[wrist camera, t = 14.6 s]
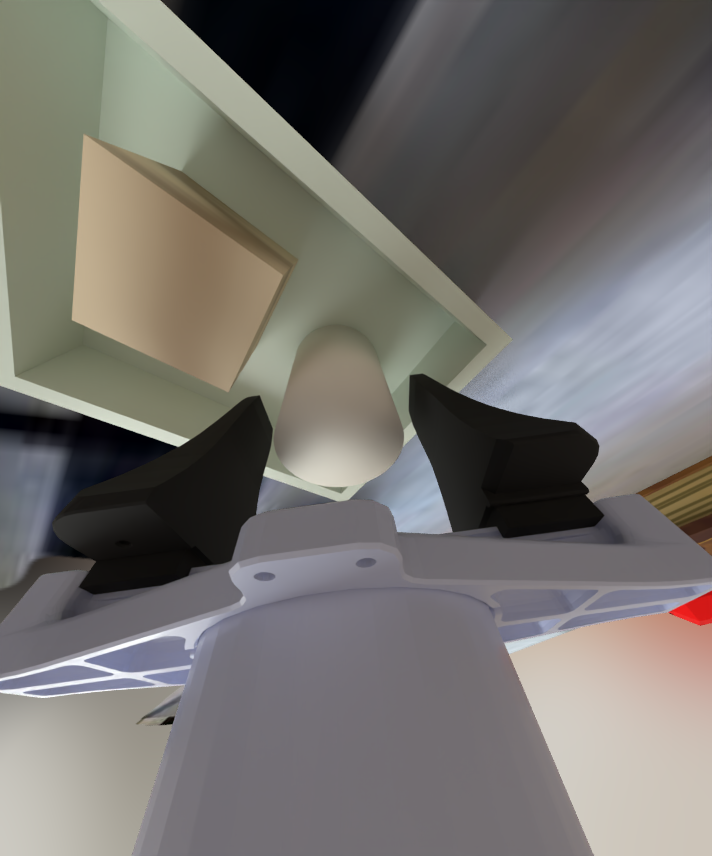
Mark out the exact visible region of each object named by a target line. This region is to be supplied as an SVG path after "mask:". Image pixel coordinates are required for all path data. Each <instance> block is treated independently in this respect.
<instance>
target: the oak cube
mask: <svg viewBox="0 0 712 856" xmlns="http://www.w3.org/2000/svg"><path fill="white" fill-rule="evenodd" d="M297 262H298V259H297V258H296V257H294V256H293V255H292V254H290V253H289V252H288V251H286V250H285V249H284V248H282V247H281V246H280V245H278V244H277V243H276V242H274V241H273V240H272V239H270V238H269V237H268V236H266V235H265V234H264V233H263V232H261V231H260V230H259V229H257V228H256V227H255V226H253V225H252V224H251V223H249V222H248V221H247V220H245V219H244V218H243V217H241V216H240V215H239V214H237V213H236V212H235V211H233V210H232V209H231V208H229V207H228V206H227V205H226V204H224V203H223V202H222V201H220V200H219V199H218V198H216V197H215V196H214V195H212V194H211V193H210V192H208V191H207V190H206V189H204V188H203V187H202V186H200V185H199V184H198V183H196V182H195V181H194V180H192V179H191V178H190V177H189V176H187V175H186V174H185V173H183V172H182V171H180V170H177V169H175V168H172V167H169V166H167V165H164V164H162V163H159V162H156V161H154V160H151V159H149V158H146V157H143V156H141V155H138V154H135V153H133V152H130V151H128V150H125V149H122V148H120V147H117V146H115V145H112V144H109V143H107V142H104V141H102V140H99V139H96V138H94V137H91V136H89V135H86V134H84V135H83V151H82V167H81V182H80V198H79V213H78V229H77V245H76V260H75V276H74V291H73V307H72V320H73V321H75V322H77V323H79V324H81V325H84V326H86V327H88V328H90V329H92V330H94V331H97V332H99V333H101V334H103V335H105V336H107V337H109V338H112V339H114V340H116V341H118V342H120V343H122V344H125V345H127V346H129V347H131V348H133V349H135V350H138V351H140V352H142V353H144V354H146V355H148V356H151V357H153V358H155V359H157V360H159V361H161V362H164V363H166V364H168V365H170V366H172V367H174V368H176V369H179V370H181V371H183V372H185V373H187V374H189V375H192V376H194V377H196V378H198V379H200V380H202V381H205V382H207V383H209V384H211V385H213V386H215V387H218V388H220V389H222V390H224V391H226V392H228V393H229V391H230V389H231V388H232V386H233V384H234V383H235V381H236V380H237V378H238V376H239V375H240V373H241V371H242V370H243V368H244V366H245V365H246V363H247V362H248V360H249V358H250V357H251V355H252V353H253V352H254V350H255V349H256V347H257V345H258V343H259V341H260V338H261V336H262V334H263V332H264V330H265V328H266V326H267V324H268V322H269V320H270V318H271V316H272V314H273V311H274V309H275V307H276V305H277V303H278V301H279V299H280V297H281V295H282V293H283V291H284V289H285V287H286V284H287V282H288V280H289V278H290V276H291V274H292V272H293V270H294V268H295V266H296V264H297Z"/></svg>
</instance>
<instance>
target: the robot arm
mask: <svg viewBox="0 0 712 856" xmlns="http://www.w3.org/2000/svg"><path fill="white" fill-rule="evenodd" d="M409 414H410V417H411V421H412V424H413V427H414V429H415V431H416V433H417V435H418V437H419V440H420V442H421V444H422V446H423V448H424V450H425V452H426V454H427V456H428V458H429V460H430V463H431V465H432V467H433V470H434V473H435V476H436V479H437V482H438V485H439V488H440V491H441V494H442V497H443V500H444V503H445V507H446V510H447V514H448V517H449V520H450V524H451V527H452V531H453V532H452V533H445V534H421V533H403V532H397V530H396V525H395V521H394V517H393V515H392V513H391V511H390V509H389V507H387V506H385V505H382V504H380V503H378V502H375V501H373V500H360V499H353V500H345V501H338V502H331V503H323V504H316V505H309V506H301V507H294V508H286V509H279V510H272V511H267V512H264V513H261V514H258V515H256V509H257V503H258V496H259V490H260V486H261V482H262V478H263V474H264V471H265V467H266V464H267V460H268V456H269V452H270V449H271V443H272V434H273V427H272V425H271V422H270V420H269V417H268V415H267V412H266V410H265V407H264V405H263V402H262V400H261V397H260V395H258V396H251V397H246V398H245V399H243V400H242V401H240V402H239V403H238V404H237V405H235V406H234V407H233V408H232V409H231V410H229V411H228V412H227V413H226V414H224V415H223V416H222V417H221V418H219V419H218V420H217V421H216V422H214V423H213V424H212V425H210V426H209V427H208V428H206V429H205V430H204V431H202V432H201V433H200V434H198V435H197V436H195V437H194V438H192V439H191V440H189V441H187V442H186V443H184V444H183V445H181V446H179V447H178V448H176V449H174V450H172V451H170V452H168V453H167V454H165V455H163V456H161V457H159V458H157V459H155V460H153V461H151V462H149V463H147V464H145V465H143V466H141V467H138V468H136V469H134V470H132V471H129V472H127V473H125V474H122V475H120V476H118V477H115V478H112V479H110V480H107V481H104V482H102V483H99V484H97V485H94V486H91V487H89V488H86V489H83V490H82V491H80V492H79V493H78V494H77V495H76V496H75V497H74V498H73V500H72V501H71V502H70V503H69V504H68V505H67V506H66V507H65V508H64V509H63V510H62V511H61V512H60V513H59V514H58V515H57V517H56V518H55V519H54V521H53V523H52V524H53V530H54V532H55V533H56V535H57V536H58V537H59V538H60V539H61V540H62V541H64V542H65V543H66V544H68V545H70V546H71V547H73V548H75V549H76V550H78V551H80V552H81V553H83V554H85V555H86V556H88V557H90V558H91V559H93V560H94V561H96V563H95V564H94V565H93V567H92V568H91V570H90V571H89V572H88V571H83V570H72V571H65V572H57V573H51V574H44V575H42V576H40V577H39V578H38V580H37V581H36V582H35V583H34V584H33V586H32V587H31V588H30V589H29V590H28V592H27V593H26V594H25V595H24V597H23V598H22V599H21V600H20V601H19V602H18V604H17V605H16V606H15V607H14V609H13V610H12V611H11V612H10V613H9V615H8V616H7V617H6V618H5V619H4V621H3V622H2V623H1V624H0V692H2V693H9V694H16V695H25V696H32V697H39V698H46V697H54V696H62V695H70V694H79V693H89V692H99V691H109V690H123V689H135V688H150V687H164V686H178V685H185V687H184V690H183V693H182V697H181V700H180V703H179V706H178V709H177V713H176V716H175V719H174V722H173V725H172V729H171V732H170V735H169V738H168V742H167V745H166V748H165V751H164V754H163V758H162V760H161V764H160V767H159V770H158V773H157V776H156V780H155V783H154V786H153V790H152V793H151V796H150V799H149V802H148V805H147V808H146V812H145V815H144V819H143V821H142V824H141V828H140V831H139V834H138V837H137V840H136V844H135V847H134V850H133V853H132V856H594V855H593V853H592V850H591V848H590V846H589V843H588V841H587V839H586V836H585V834H584V831H583V830H582V827H581V825H580V822H579V819H578V817H577V815H576V812H575V810H574V808H573V805H572V803H571V801H570V798H569V796H568V793H567V791H566V789H565V786H564V784H563V782H562V779H561V777H560V774H559V772H558V770H557V767H556V765H555V763H554V760H553V758H552V755H551V753H550V751H549V749H548V746H547V744H546V741H545V739H544V737H543V734H542V732H541V729H540V727H539V725H538V723H537V720H536V718H535V715H534V713H533V711H532V708H531V706H530V703H529V701H528V699H527V696H526V694H525V692H524V689H523V687H522V684H521V682H520V680H519V677H518V675H517V673H516V670H515V668H514V666H513V663H512V661H511V659H510V656H509V654H508V651H507V649H506V647H505V644H504V643H508V642H513V641H518V640H522V639H527V638H532V637H537V636H542V635H546V634H551V633H556V632H561V631H565V630H570V629H575V628H580V627H585V626H590V625H595V624H600V623H605V622H610V621H616V620H622V619H627V618H633V617H640V616H647V615H653V614H660V613H667V612H669V611H671V610H673V609H675V608H677V607H679V606H681V605H684V604H686V603H688V602H690V601H692V600H694V599H696V598H698V597H700V596H702V595H704V594H706V593H708V592H710V591H712V556H711V555H710V554H709V553H708V552H706V551H705V550H704V549H703V548H702V547H701V546H699V545H698V544H697V543H696V542H695V541H694V540H692V539H691V538H690V537H689V536H688V535H687V534H685V533H684V532H683V531H682V530H681V529H680V528H678V527H677V526H676V525H675V524H674V523H673V522H671V521H670V520H669V519H668V518H667V517H666V516H664V515H663V514H662V513H661V512H660V511H659V510H657V509H656V508H655V507H654V506H653V505H652V504H650V503H649V502H648V501H647V500H646V499H645V498H643V497H642V496H641V495H640V494H631V495H623V496H616V497H609V498H604V499H600V500H598V501H596V502H594V503H592V502H591V501H590V499H589V498H588V497H587V496H586V494H588V493H589V489H588V488H587V487H586V486H585V485H584V484H583V483H582V482H581V481H582V479H583V478H584V476H585V475H586V473H587V472H588V471H589V469H590V468H591V466H592V465H593V463H594V462H595V460H596V458H597V456H598V452H599V444H598V442H597V440H596V439H595V438H594V437H593V436H591V435H590V434H589V433H588V432H586V431H585V430H584V429H583V428H581V427H580V426H579V425H578V424H576V423H574V422H566V421H558V420H551V419H543V418H538V417H533V416H527V415H522V414H518V413H514V412H510V411H506V410H503V409H499V408H495V407H492V406H489V405H486V404H484V403H481V402H478V401H476V400H473V399H471V398H468V397H466V396H464V395H462V394H460V393H458V392H456V391H454V390H452V389H450V388H448V387H446V386H444V385H443V384H441V383H439V382H437V381H436V380H434V379H432V378H430V377H429V376H427V375H425V374H423V373H421V374H414V375H410V377H409Z"/></svg>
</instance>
